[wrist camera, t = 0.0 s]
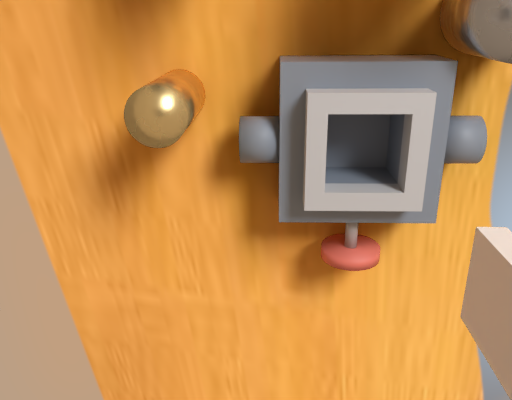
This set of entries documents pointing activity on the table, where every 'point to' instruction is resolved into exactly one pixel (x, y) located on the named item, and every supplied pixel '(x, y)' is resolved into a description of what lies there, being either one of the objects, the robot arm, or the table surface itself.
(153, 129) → the brass cylinder
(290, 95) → the valve body
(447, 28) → the steel nipple large
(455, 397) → the table surface
